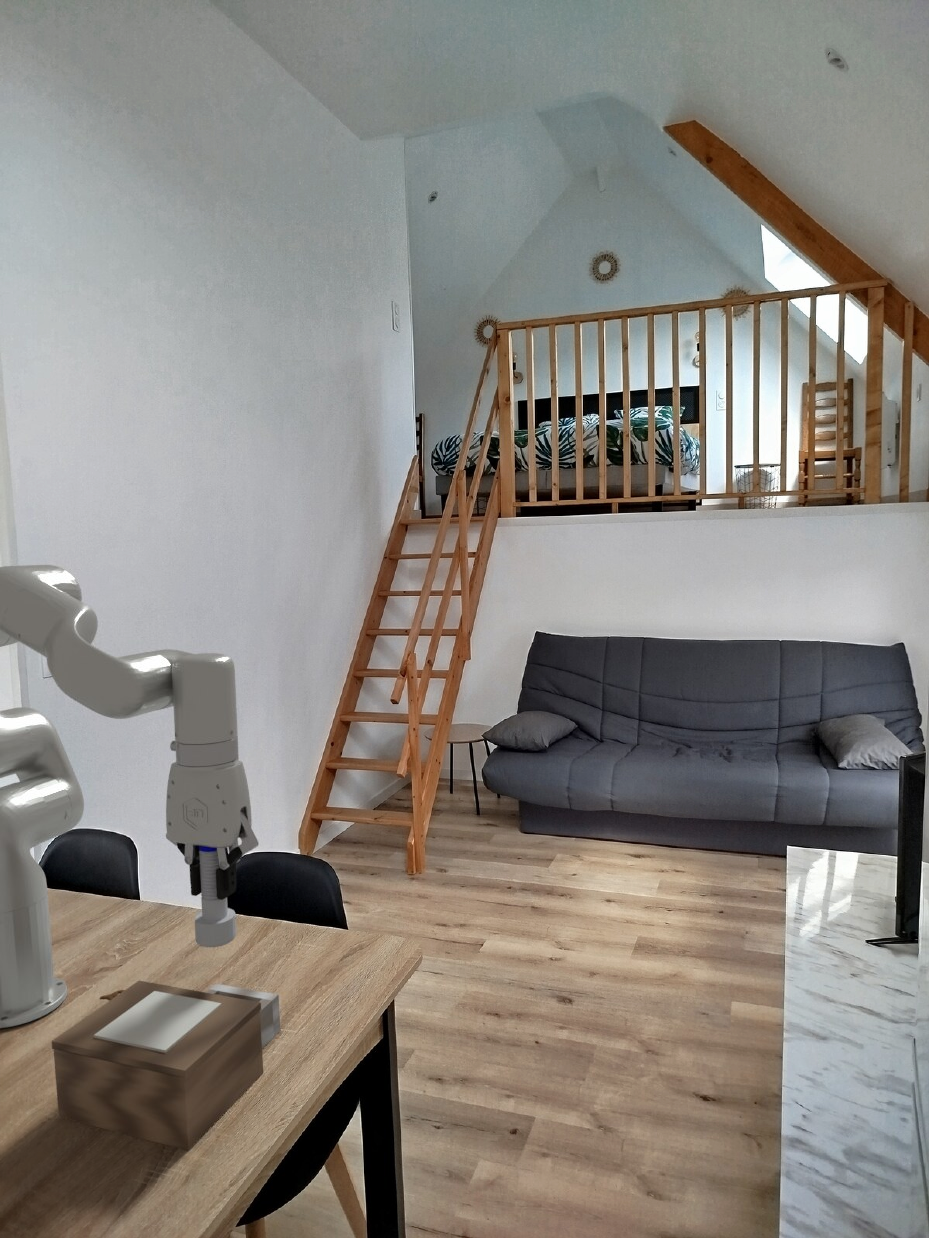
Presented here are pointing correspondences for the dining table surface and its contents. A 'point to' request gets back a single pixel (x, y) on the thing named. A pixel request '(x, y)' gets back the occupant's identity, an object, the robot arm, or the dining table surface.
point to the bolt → (212, 905)
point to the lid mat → (158, 1021)
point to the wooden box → (165, 1066)
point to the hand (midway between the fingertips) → (213, 892)
